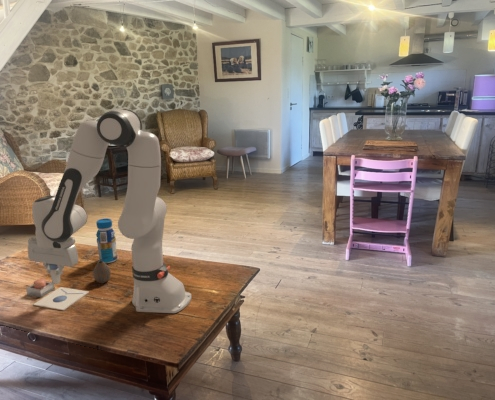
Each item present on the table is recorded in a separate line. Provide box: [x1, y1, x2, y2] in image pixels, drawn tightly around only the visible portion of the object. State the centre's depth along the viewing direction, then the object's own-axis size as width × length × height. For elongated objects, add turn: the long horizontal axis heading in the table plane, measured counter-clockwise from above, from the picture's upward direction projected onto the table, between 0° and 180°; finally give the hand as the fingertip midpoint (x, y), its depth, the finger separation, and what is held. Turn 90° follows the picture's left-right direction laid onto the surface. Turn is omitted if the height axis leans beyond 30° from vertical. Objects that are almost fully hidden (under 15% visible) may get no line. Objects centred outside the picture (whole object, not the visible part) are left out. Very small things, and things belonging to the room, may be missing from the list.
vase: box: [92, 260, 112, 284], centre depth 164 cm, size 7×7×9 cm
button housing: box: [25, 280, 56, 299], centre depth 156 cm, size 7×7×3 cm
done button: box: [33, 278, 46, 289], centre depth 155 cm, size 4×4×3 cm
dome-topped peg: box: [49, 264, 62, 285], centre depth 147 cm, size 3×3×8 cm
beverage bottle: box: [95, 218, 118, 264], centre depth 183 cm, size 8×8×20 cm
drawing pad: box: [33, 286, 90, 312], centre depth 151 cm, size 14×14×1 cm
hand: (55, 273), depth 147 cm, fingers closed on dome-topped peg, 3 cm apart
